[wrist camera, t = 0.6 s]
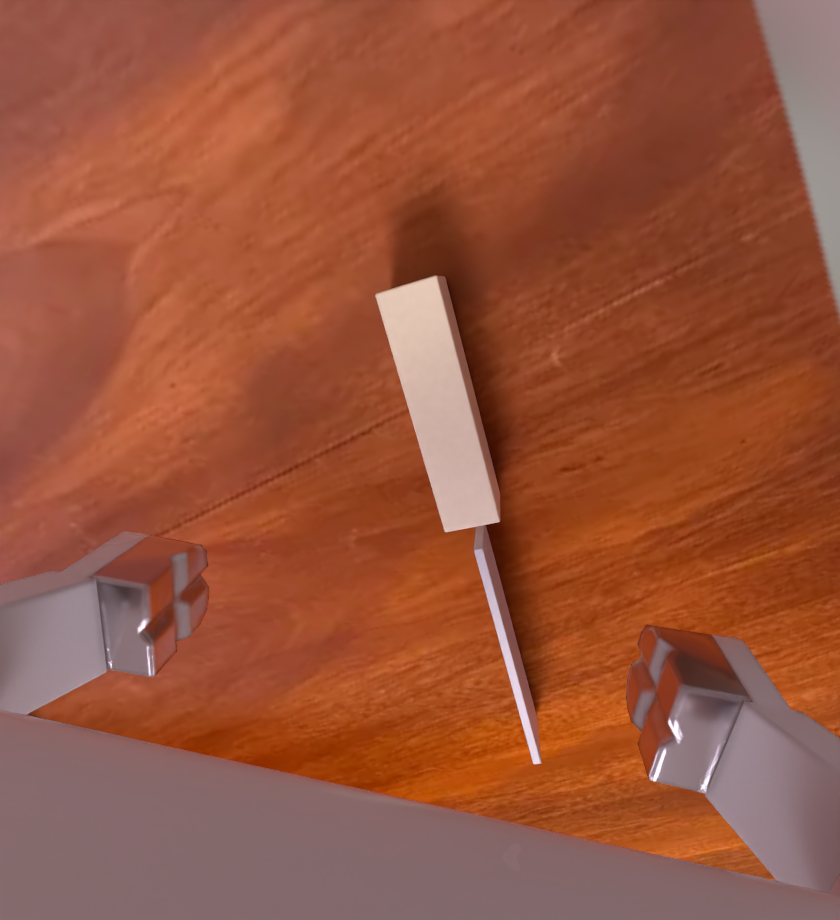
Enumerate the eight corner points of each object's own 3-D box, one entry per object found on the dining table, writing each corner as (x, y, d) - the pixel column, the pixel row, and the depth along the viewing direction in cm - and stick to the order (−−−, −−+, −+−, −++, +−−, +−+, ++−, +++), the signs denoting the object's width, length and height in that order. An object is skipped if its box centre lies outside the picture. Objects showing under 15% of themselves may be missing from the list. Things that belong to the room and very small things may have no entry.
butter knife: (390, 292, 22) (374, 293, 19) (444, 275, 21) (436, 274, 18) (511, 717, 28) (513, 766, 25) (556, 713, 28) (562, 762, 25)
